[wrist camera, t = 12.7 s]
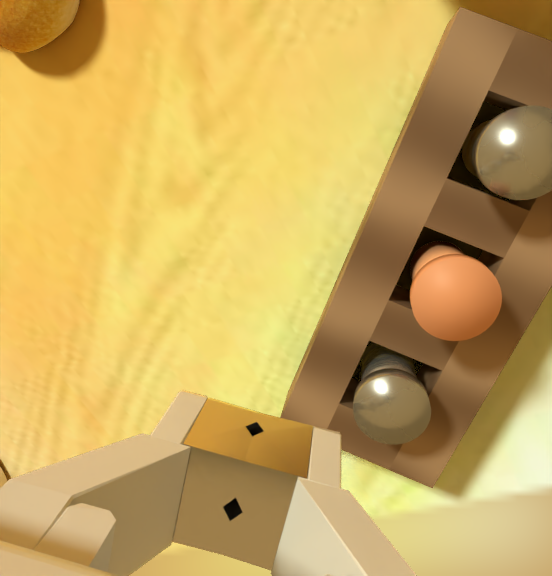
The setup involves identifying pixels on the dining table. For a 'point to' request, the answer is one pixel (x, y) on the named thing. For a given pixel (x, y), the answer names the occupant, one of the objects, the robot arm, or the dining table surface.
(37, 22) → the bread roll
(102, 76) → the dining table surface
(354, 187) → the dining table surface
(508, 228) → the walnut block
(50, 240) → the dining table surface
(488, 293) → the plunger mid
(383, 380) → the grey metal capped cylinder
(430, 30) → the dining table surface
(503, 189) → the plunger near
